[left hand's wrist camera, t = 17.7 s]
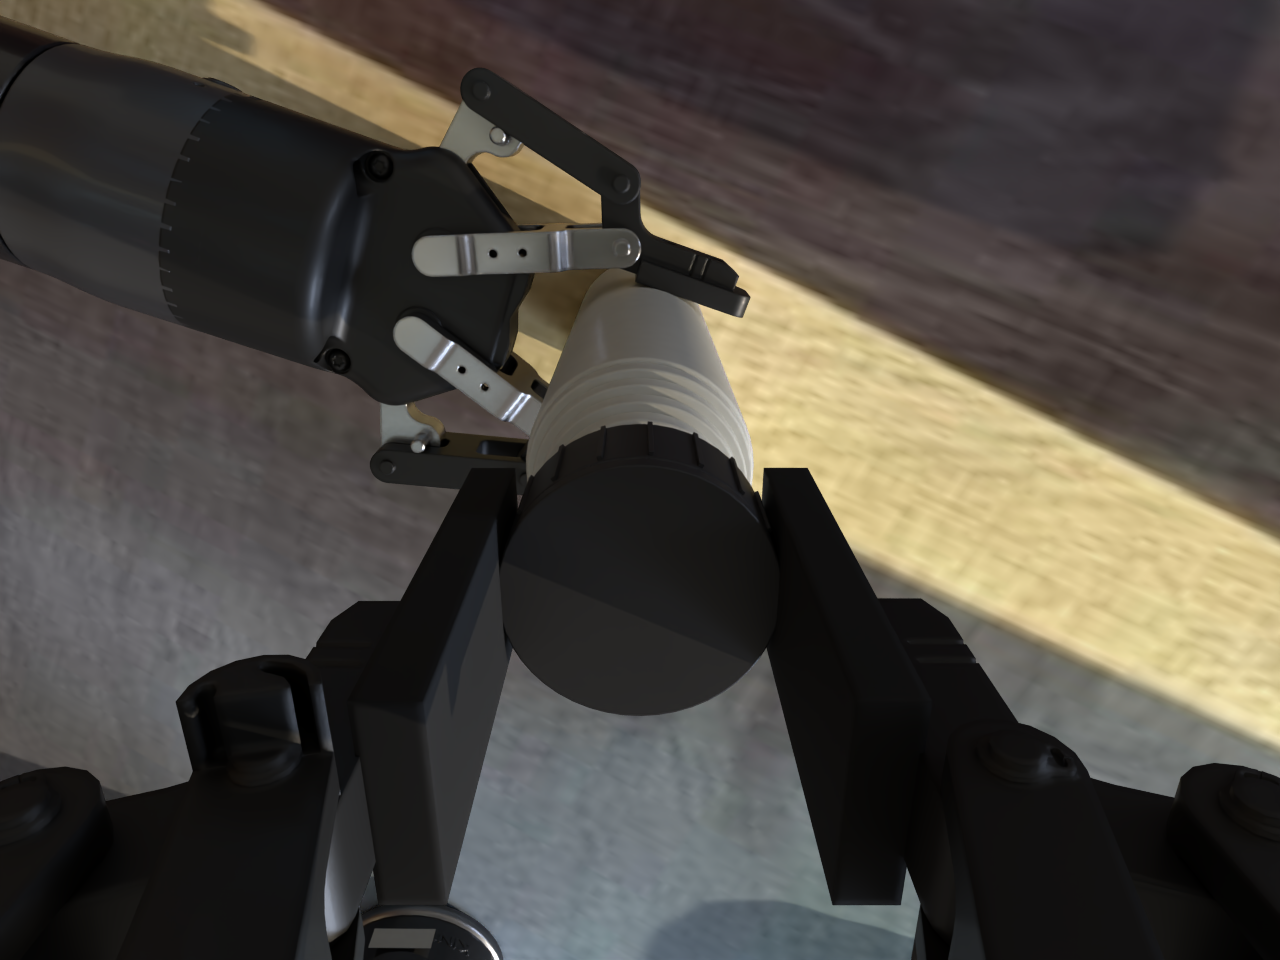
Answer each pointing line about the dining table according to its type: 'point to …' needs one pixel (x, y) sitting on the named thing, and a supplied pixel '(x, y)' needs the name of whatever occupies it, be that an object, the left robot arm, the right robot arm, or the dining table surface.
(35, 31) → the right robot arm
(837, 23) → the dining table surface
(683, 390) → the bottle
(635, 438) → the cap
